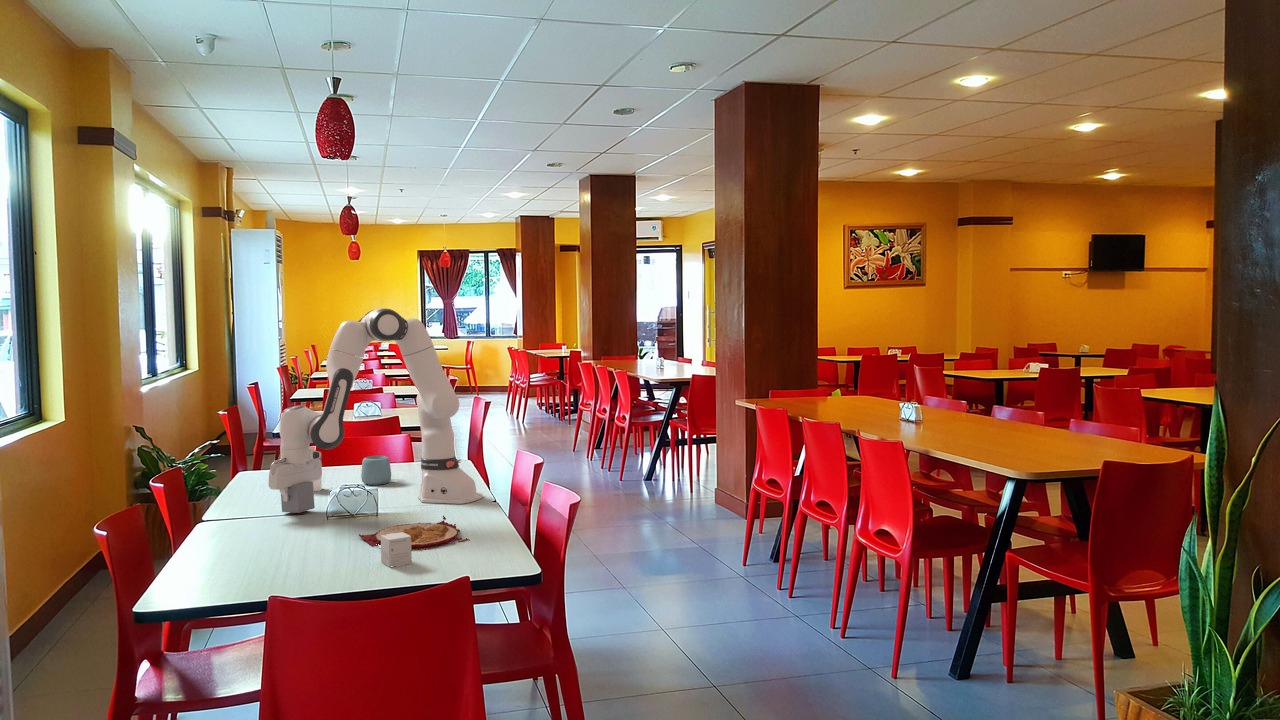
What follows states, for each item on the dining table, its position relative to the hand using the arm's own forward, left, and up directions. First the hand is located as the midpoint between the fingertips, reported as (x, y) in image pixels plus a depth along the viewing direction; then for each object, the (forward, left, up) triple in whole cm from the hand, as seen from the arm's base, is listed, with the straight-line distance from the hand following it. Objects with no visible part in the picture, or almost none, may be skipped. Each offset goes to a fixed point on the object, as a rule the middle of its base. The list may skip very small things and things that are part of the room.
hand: (296, 498), depth 287 cm
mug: (+8, -51, -5) cm, 52 cm away
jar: (+22, -30, -5) cm, 38 cm away
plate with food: (-58, +14, -6) cm, 60 cm away
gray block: (-1, 0, -4) cm, 4 cm away
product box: (-67, +36, -5) cm, 76 cm away
